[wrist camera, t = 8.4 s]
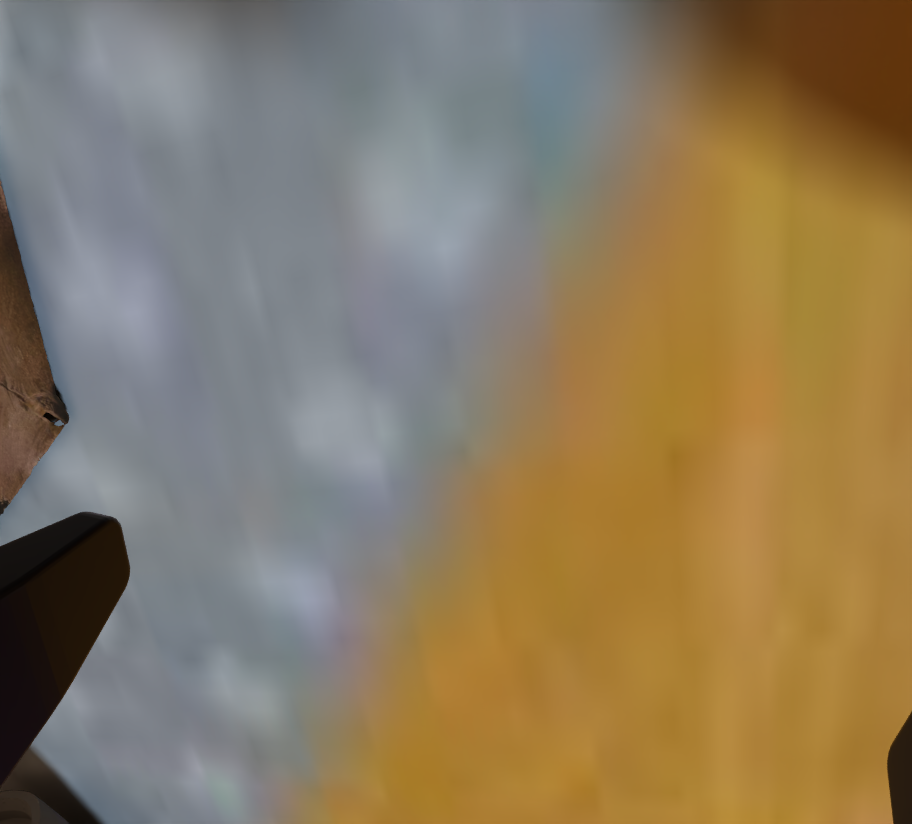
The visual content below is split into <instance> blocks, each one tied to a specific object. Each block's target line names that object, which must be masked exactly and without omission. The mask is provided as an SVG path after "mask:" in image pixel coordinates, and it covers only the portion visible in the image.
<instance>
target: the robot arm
mask: <svg viewBox="0 0 912 824" xmlns="http://www.w3.org/2000/svg"><path fill="white" fill-rule="evenodd" d="M129 576H130V564H129V560H128V555H127V550H126V546H125V541H124V536H123V532H122V527H121V525H120V523H119V522H118V520H117V519H116V518H113V517H111V516H106V515H102V514H97V513H93V512H80V513H78V514H75V515H73V516H70V517H68V518H66V519H63V520H61V521H59V522H56V523H54V524H52V525H49V526H47V527H45V528H42V529H40V530H38V531H35V532H33V533H30V534H28V535H26V536H23V537H21V538H19V539H16V540H14V541H12V542H9V543H7V544H5V545H2V546H0V788H1V786H2V785H3V783H4V782H5V781H6V779H7V778H8V776H9V775H10V773H11V772H12V771H13V769H14V768H15V766H16V765H17V763H18V762H19V761H20V759H21V758H22V756H23V755H24V753H25V752H26V751H27V749H28V748H29V746H30V745H31V743H32V742H33V741H34V739H35V738H36V736H37V735H38V734H39V732H40V731H41V729H42V728H43V726H44V725H45V724H46V722H47V721H48V719H49V718H50V716H51V715H52V713H53V712H54V710H55V709H56V707H57V706H58V704H59V703H60V701H61V700H62V698H63V697H64V695H65V693H66V692H67V690H68V688H69V687H70V685H71V683H72V682H73V680H74V678H75V677H76V675H77V673H78V671H79V670H80V668H81V666H82V664H83V662H84V661H85V659H86V657H87V655H88V654H89V652H90V650H91V648H92V647H93V645H94V643H95V641H96V639H97V638H98V636H99V634H100V632H101V631H102V629H103V627H104V625H105V624H106V622H107V620H108V618H109V616H110V615H111V613H112V611H113V609H114V608H115V606H116V604H117V602H118V601H119V599H120V597H121V595H122V593H123V592H124V590H125V588H126V586H127V583H128V580H129ZM887 770H888V780H889V788H890V797H891V806H892V815H893V824H912V712H911V714H910V715H909V717H908V718H907V720H906V722H905V723H904V725H903V727H902V728H901V730H900V731H899V733H898V735H897V736H896V738H895V740H894V741H893V743H892V745H891V747H890V750H889V753H888V760H887Z"/></svg>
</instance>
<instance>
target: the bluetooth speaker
mask: <svg viewBox="0 0 912 824" xmlns="http://www.w3.org/2000/svg"><path fill="white" fill-rule="evenodd" d="M0 824H69V823H68V822H67V821H66V820H65V819H64V818H63V817H61V816H60V815H59V814H58V813H57V812H56V811H54V810H53V809H52V808H50V807H49V806H48V805H47V804H46V803H44V802H43V801H42V800H40V799H39V798H38V797H36V796H35V795H34V794H32V793H30V792H26V791H19V790H12V791H1V792H0Z"/></svg>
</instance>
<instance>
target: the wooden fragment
mask: <svg viewBox="0 0 912 824" xmlns="http://www.w3.org/2000/svg"><path fill="white" fill-rule="evenodd" d="M33 307H34V306H33V303H32V299H31V296H30V293H29V288H28V283H27V280H26V277H25V273H24V269H23V266H22V262H21V255H20V252H19V249H18V245H17V242H16V239H15V235H14V231H13V226H12V222H11V220H10V218H9V215H8V210H7V205H6V201H5V196H4V192H3V189H2V187H1V181H0V515H1V514H3V512H4V509H5V508H6V507H7V506H8V505H9V504H10V502H11V500H12V499H13V498H14V496H15V495H16V494H17V493H18V491H19V489H20V488H21V487H22V485H23V484H24V483H25V481H26V479H27V478H28V477H29V476H30V474H31V472H32V469H33V467H34V466H35V465H37V463H38V461H40V460H39V458H40V459H41V457H42V456H43V455H44V454H45V453H46V452H47V450H48V449H49V447H50V446H51V444H52V443H53V441H54V440H55V438H56V437H57V436H58V434H59V433H60V432H61V430H62V429H63V427H64V425H62V426H56V425H54V423H55V422H56V421H58V420H61V421H62V422H63V423H64V424H67V423H68V421H69V415H68V413H67V412H66V410H65V406H64V404H63V403H62V402H61V400H60V399H59V397H58V396H56V392H55V384H54V381H53V377H52V374H51V370H50V366H49V363H48V361H47V359H46V358H47V355H46V352H45V349H44V346H43V341H42V336H41V332H40V328H39V324H38V321H37V317H36V315H35V312H34V310H33ZM45 412H47V413H50V414H52V415H53V416H54V417H56V418H57V419H56V421H55V422H50V421H49V420H48V419H46V418H44V417H42V416H43V415H44V414H45Z"/></svg>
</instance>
